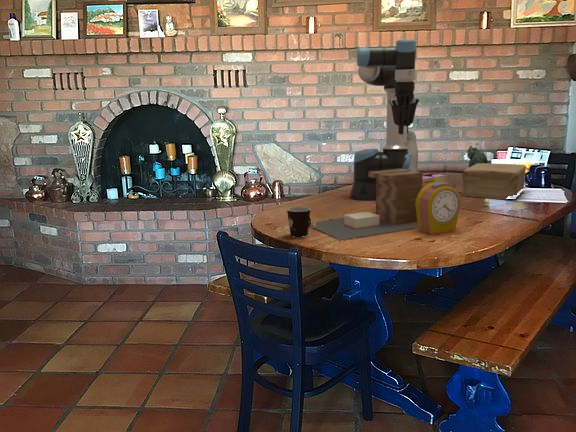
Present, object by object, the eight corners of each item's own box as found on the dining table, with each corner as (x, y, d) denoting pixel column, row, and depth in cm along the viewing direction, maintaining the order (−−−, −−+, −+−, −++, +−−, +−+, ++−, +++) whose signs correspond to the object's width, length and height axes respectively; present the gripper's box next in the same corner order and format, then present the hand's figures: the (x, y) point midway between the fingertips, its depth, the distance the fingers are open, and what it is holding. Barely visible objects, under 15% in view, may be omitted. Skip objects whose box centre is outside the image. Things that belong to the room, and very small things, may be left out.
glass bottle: (398, 179, 327) (399, 130, 320) (416, 179, 325) (418, 130, 319) (399, 182, 317) (400, 131, 311) (417, 182, 316) (419, 131, 309)
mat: (303, 224, 227) (303, 223, 227) (392, 211, 246) (392, 210, 246) (341, 240, 203) (341, 239, 203) (436, 225, 222) (436, 224, 222)
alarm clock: (427, 235, 208) (429, 185, 204) (414, 230, 216) (416, 182, 211) (460, 230, 214) (462, 182, 210) (446, 225, 221) (448, 179, 217)
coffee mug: (286, 232, 215) (286, 207, 213) (309, 232, 216) (308, 206, 213) (289, 241, 204) (288, 214, 201) (313, 240, 204) (312, 213, 202)
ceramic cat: (465, 176, 334) (466, 141, 330) (475, 175, 335) (477, 141, 330) (479, 181, 315) (481, 145, 310) (490, 181, 316) (493, 145, 311)
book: (367, 211, 228) (367, 221, 229) (344, 214, 223) (344, 224, 224) (379, 215, 221) (379, 225, 222) (355, 219, 216) (355, 229, 217)
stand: (367, 220, 232) (368, 171, 228) (399, 215, 240) (400, 168, 235) (388, 227, 220) (389, 176, 216) (420, 222, 227) (422, 172, 223)
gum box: (436, 200, 267) (437, 172, 264) (450, 203, 261) (451, 174, 258) (401, 208, 253) (402, 178, 250) (415, 211, 247) (416, 180, 244)
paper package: (473, 187, 298) (475, 161, 295) (526, 191, 285) (528, 164, 282) (459, 197, 276) (461, 168, 272) (515, 201, 262) (518, 171, 259)
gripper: (397, 81, 213) (395, 144, 219) (424, 80, 219) (422, 142, 224) (385, 81, 219) (383, 142, 225) (412, 80, 225) (410, 140, 231)
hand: (403, 142), depth 225 cm, fingers closed
